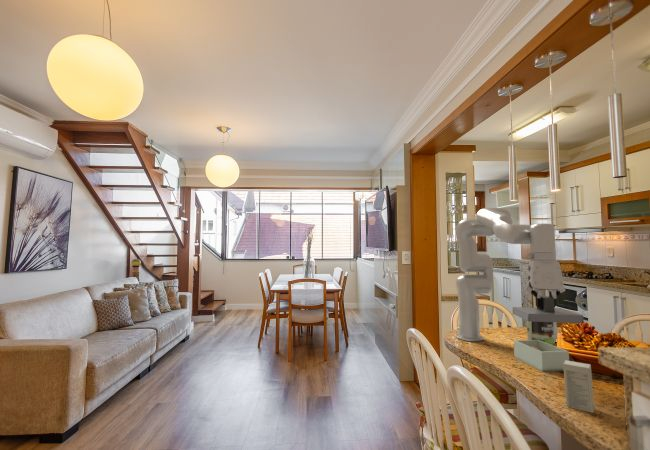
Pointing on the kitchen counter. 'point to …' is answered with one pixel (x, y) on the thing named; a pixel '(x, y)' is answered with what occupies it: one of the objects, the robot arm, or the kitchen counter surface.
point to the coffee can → (540, 331)
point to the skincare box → (578, 386)
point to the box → (540, 355)
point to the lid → (548, 313)
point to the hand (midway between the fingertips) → (545, 308)
